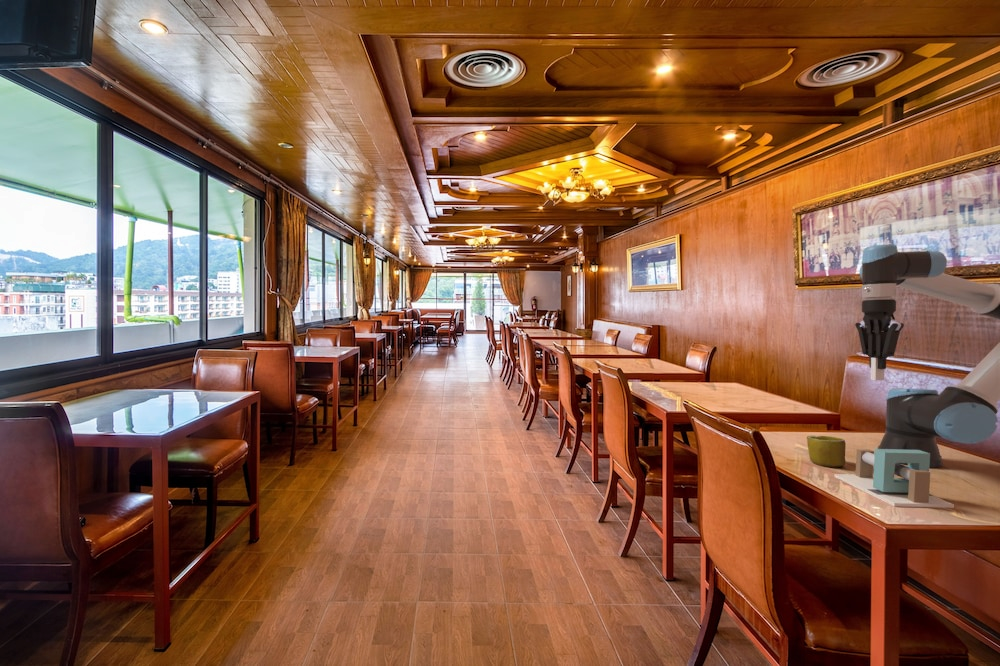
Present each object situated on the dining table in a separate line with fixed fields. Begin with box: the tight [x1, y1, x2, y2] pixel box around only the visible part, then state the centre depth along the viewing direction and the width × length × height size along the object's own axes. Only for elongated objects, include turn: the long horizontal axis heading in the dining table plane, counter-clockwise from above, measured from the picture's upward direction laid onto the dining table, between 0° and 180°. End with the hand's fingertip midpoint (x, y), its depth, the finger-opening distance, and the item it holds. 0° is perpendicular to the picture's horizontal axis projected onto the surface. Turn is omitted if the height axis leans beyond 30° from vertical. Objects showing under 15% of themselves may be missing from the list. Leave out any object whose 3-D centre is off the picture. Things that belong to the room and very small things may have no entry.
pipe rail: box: [833, 449, 955, 509], centre depth 112 cm, size 19×14×8 cm
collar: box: [873, 448, 930, 493], centre depth 109 cm, size 3×11×10 cm, turn 89°
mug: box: [806, 434, 846, 468], centre depth 134 cm, size 12×10×10 cm
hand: (877, 379), depth 126 cm, fingers closed
